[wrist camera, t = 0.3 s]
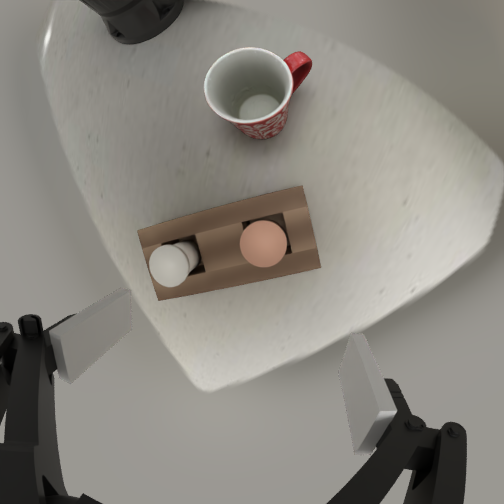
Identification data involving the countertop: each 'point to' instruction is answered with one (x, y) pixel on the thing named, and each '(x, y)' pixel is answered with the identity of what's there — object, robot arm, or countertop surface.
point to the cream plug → (174, 262)
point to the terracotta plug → (263, 243)
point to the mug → (255, 88)
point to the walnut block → (235, 242)
